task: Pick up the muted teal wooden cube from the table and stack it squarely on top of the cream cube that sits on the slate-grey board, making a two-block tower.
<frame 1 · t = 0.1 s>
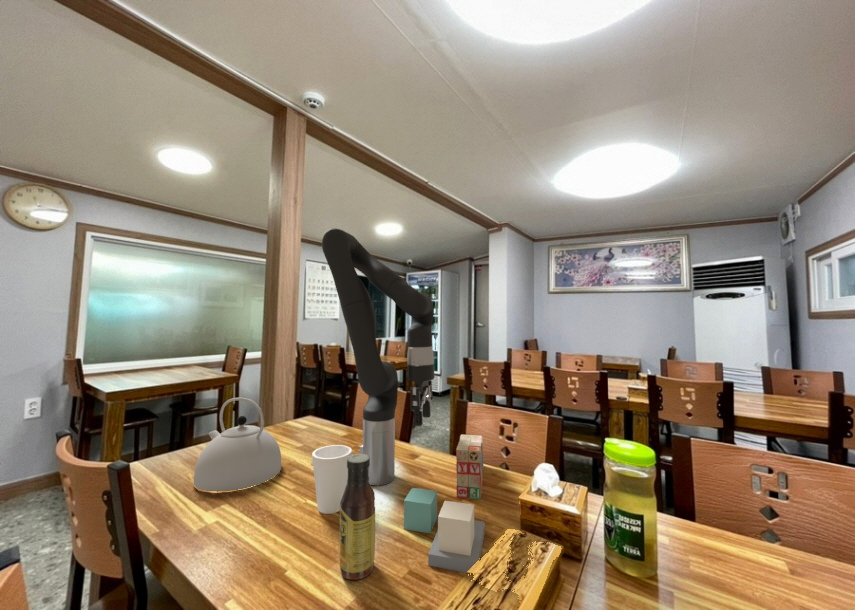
hand: (422, 421, 94), 17 cm above the table, tool pointing down, fingers open, 8 cm apart
foam cup: (331, 507, 81), on the table
teal cube: (421, 523, 74), on the table
board: (458, 547, 66), on the table
cream cube: (456, 542, 64), point 2 cm above the table, touching board
stack of blocks: (471, 481, 95), on the table
sauce bottle: (356, 571, 60), on the table
kettle: (236, 475, 100), on the table
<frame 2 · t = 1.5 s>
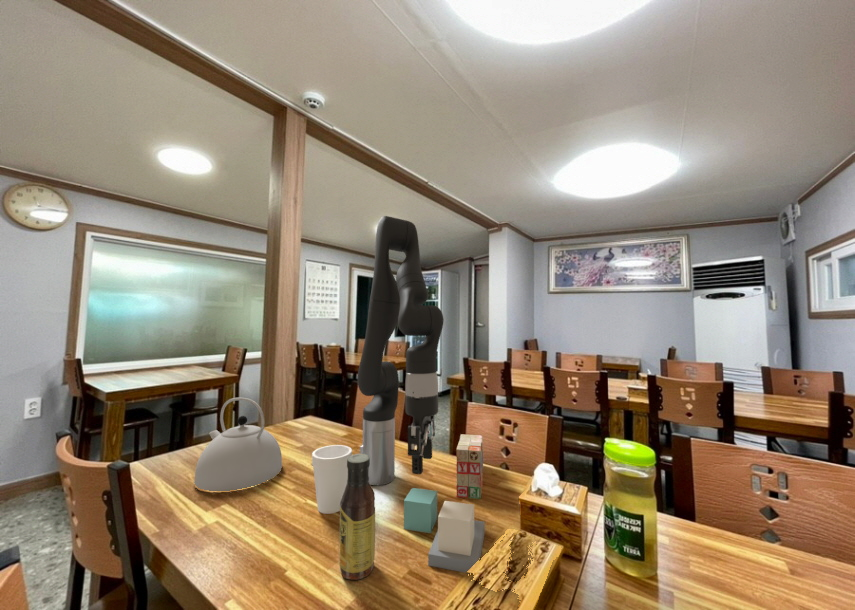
hand: (422, 465, 75), 12 cm above the table, tool pointing down, fingers open, 8 cm apart
nothing on the table moved.
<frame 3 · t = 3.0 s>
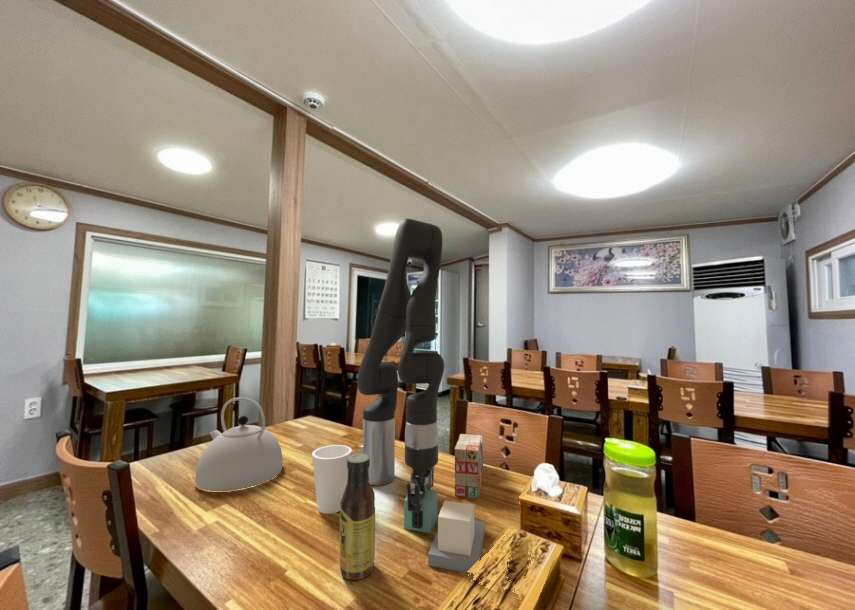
hand: (421, 518, 74), 1 cm above the table, tool pointing down, fingers closed on teal cube, 6 cm apart
teal cube: (421, 523, 74), on the table, touching gripper
everything else where it was.
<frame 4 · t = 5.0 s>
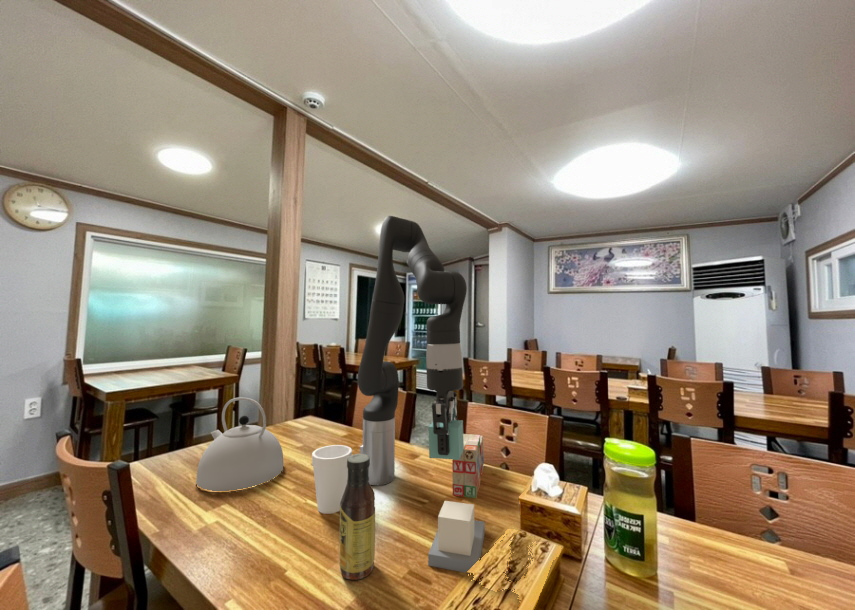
hand: (447, 448, 68), 19 cm above the table, tool pointing down, fingers closed on teal cube, 6 cm apart
teal cube: (447, 453, 68), point 18 cm above the table, touching gripper
everything else where it was.
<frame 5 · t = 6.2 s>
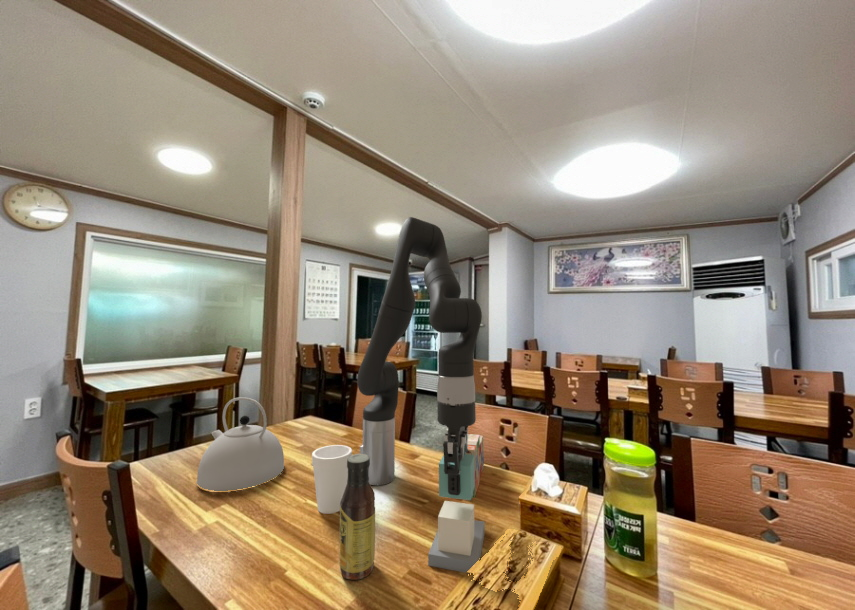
hand: (457, 485, 65), 13 cm above the table, tool pointing down, fingers closed on teal cube, 6 cm apart
teal cube: (457, 490, 65), point 12 cm above the table, touching gripper
when the fingers open (10 cm above the table, at t = 7.2 s): teal cube stays where it is, resting on cream cube.
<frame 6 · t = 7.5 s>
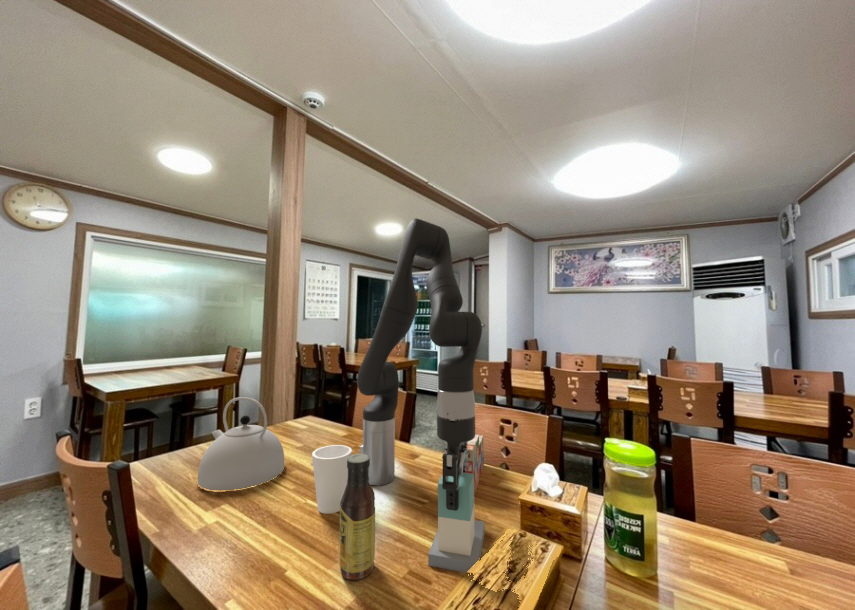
hand: (456, 497, 65), 10 cm above the table, tool pointing down, fingers open, 8 cm apart
teal cube: (456, 510, 65), point 8 cm above the table, touching cream cube
cream cube: (456, 542, 64), point 2 cm above the table, touching board, teal cube
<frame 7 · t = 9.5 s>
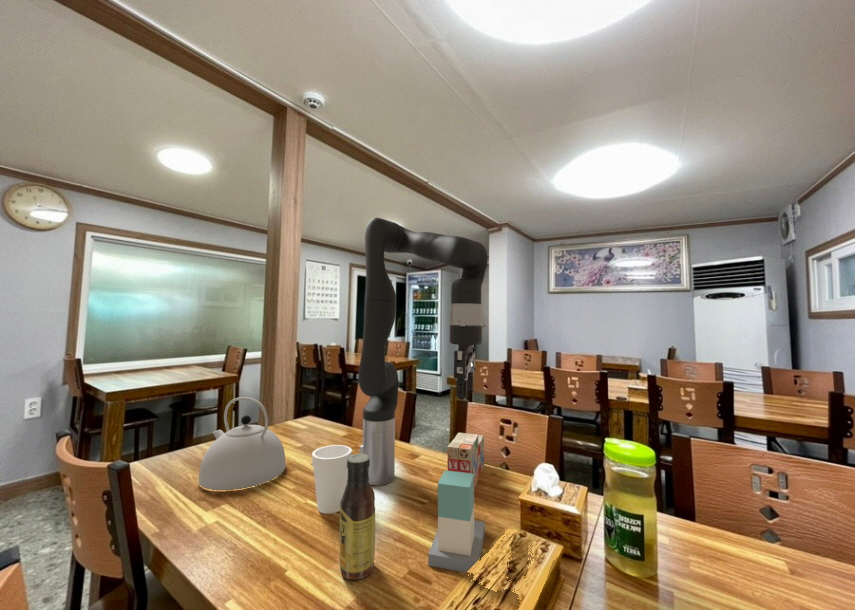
hand: (465, 394, 77), 28 cm above the table, tool pointing down, fingers open, 8 cm apart
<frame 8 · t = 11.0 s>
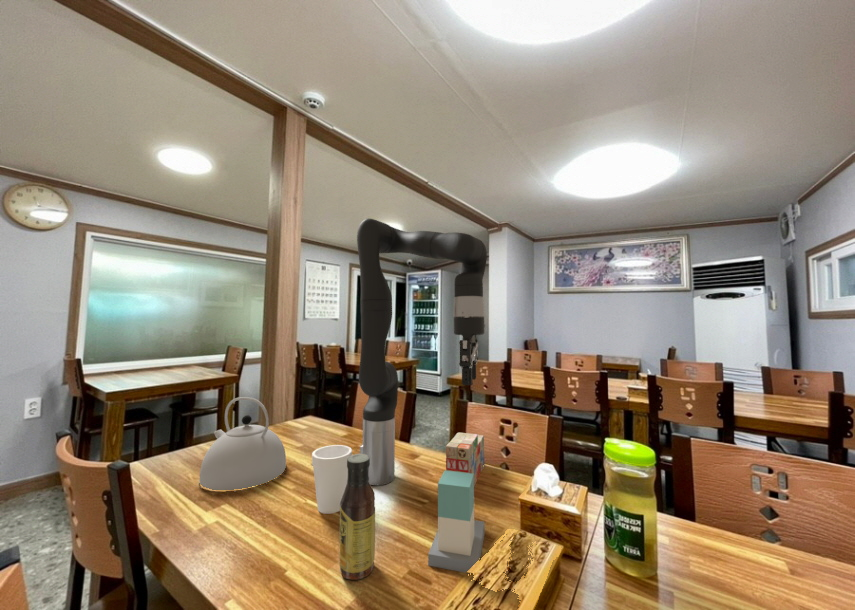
hand: (469, 382, 82), 30 cm above the table, tool pointing down, fingers open, 8 cm apart
at the end: teal cube 0.0 cm off-centre on the cream cube, point 6.0 cm above the cream cube's base; teal cube tilted 0°; the gripper is holding nothing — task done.
